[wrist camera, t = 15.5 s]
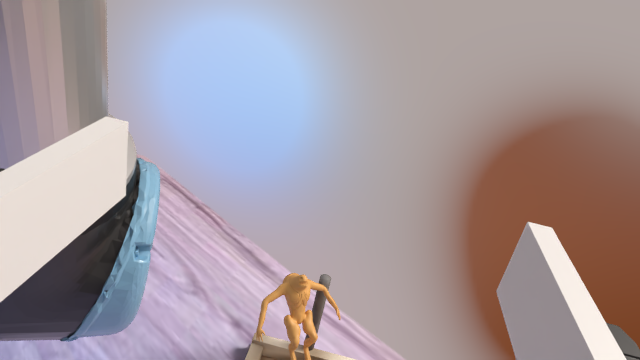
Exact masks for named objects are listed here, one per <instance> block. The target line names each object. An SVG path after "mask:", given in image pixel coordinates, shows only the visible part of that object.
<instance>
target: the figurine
mask: <svg viewBox="0 0 640 360" xmlns="http://www.w3.org/2000/svg"><path fill="white" fill-rule="evenodd" d="M310 289H313V290H318V291H323V293H324V295H325V296H326V298H327V300H328V301H329V303H330V304H331V305H332V306H333V307H334V308H335V310H336V313H337V316H338V317H339V320H340V313H339V309H338V307H337V305H336V303H335V301H334V300H333V298H332V297H331V296H330V294H329V292H328V290H327V288H326V287H325V286H324V285H322V284H319V283H315V282H313V281H311V280H309V279H307V277H306V276H305V275H299V274H296V273H291V274H289V275H287V276H286V277H285V278H284V280H283V284H282V285H280V286H279V287H278V288H277V289H276V290H275V291H274V292H272V293H271V294H269V295H268V296H267V297H266V298H265V299H264V300H263V301H262V304H261V312H260V317H259V323H258V327H257V332H256V340H257V338H258V340H259V342H260V337H261V340H262V342H263V339H262V333H263V334H264V335H265V333H264V331H263V330H262V326H263V323H264V320H265V314H266V310H267V306H268V303H270V302H272V301H274V300H275V299H277V298H278V297H280V296H282V295H285V297H286V300H287V304H288V306H289V310H290V314H291V315H287V316H285V318H284V324H285V326H286V329H287V334H288V338H289V340H290V341H291V343H290V344H289V346H288V349H289V353H290V359H291V360H296V356H295V352H294V351H295V350H296V349H297V347H298V345H299V336H300V327H299V325H298V324H301V323H302V325H303V331H304V332H305V333H306V334H308V336H309V338H307V339H306V340H305V341H304V346H303V349H304V355H305V360H311V357H310V353H309V349H308V347H309V346H311V345H312V344H314V343H315V342H316V340H317V338H318V336H317V334H316V330H315V327H314V324H313V317H312V311H311V310H307V311H306V312H305V306H306V305H307V301H308V300H309V297H310Z"/></svg>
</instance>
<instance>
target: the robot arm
mask: <svg viewBox="0 0 640 360" xmlns="http://www.w3.org/2000/svg"><path fill="white" fill-rule="evenodd" d="M107 75H108V70H107V9H106V0H0V341H21V340H61V341H68V342H69V341H73V340H76V339H78V338H79V337H91V336H103V335H111V334H116V333H118V332H120V331H122V330H124V329H125V328H126V327H128V326H129V325H130V324H131V322H132V321H133V320H134V318H135V316H136V314H137V312H138V309H139V307H140V304H141V300H142V297H143V293H144V289H145V285H146V280H147V275H148V270H149V264H150V255H151V254H150V250H151V248H152V244H153V239H154V235H155V230H156V223H157V215H158V206H159V196H160V173H159V169H158V168H157V166H156V165H154V164H153V163H150V162H146V161H144V160H143V159H141V158H137V157H136V148H135V144H134V141H133V138H132V136H131V135H130V133H129V132H128V122H126V121H122V120H118V119H116V118H115V117H113V116H112V115H110V114H108V76H107ZM497 295H498V299H499V302H500V305H501V309H502V312H503V316H504V319H505V323H506V326H507V330H508V333H509V336H510V340H511V344H512V347H513V350H514V354H515V357H516V360H640V350H639V348H638V346H637V345H636V343H635V342H634V341H633V340H632V339H631V338H630V337H629V336H628V335H627V334H626V333H625V332H624V331H623V330H622V329H621V328H619V326H616V325H612V324H608V323H605V321H604V319H603V317H602V315H601V314H600V312H599V310H598V308H597V307H596V305H595V303H594V302H593V300H592V298H591V296H590V294H589V293H588V291H587V289H586V287H585V285H584V284H583V282H582V280H581V278H580V277H579V275H578V273H577V271H576V270H575V268H574V266H573V264H572V263H571V261H570V259H569V258H568V255H567V254H566V252H565V250H564V248H563V247H562V245H561V243H560V241H559V240H558V238H557V236H556V234H555V233H554V231H553V229H552V228H550V227H546V226H542V225H538V224H534V223H530V222H527V224H526V227H525V229H524V231H523V233H522V235H521V238H520V240H519V242H518V245H517V247H516V249H515V251H514V253H513V256H512V258H511V260H510V262H509V264H508V267H507V269H506V271H505V273H504V275H503V278H502V280H501V282H500V284H499V287H498V289H497Z"/></svg>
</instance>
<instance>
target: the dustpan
mask: <svg viewBox="0 0 640 360" xmlns="http://www.w3.org/2000/svg"><path fill="white" fill-rule="evenodd" d="M330 281H331V277H330V276H329V275H326V274H323V275H321V276H320V280H319V284H322V285H324V286H325V287H326V288H327V290H328V289H329V285H330ZM325 301H326V296H325V295H324V293H323V291H318V290H317V292H316V297H315V301H314V305H313V309H312V317H313V324H314V327H315V330H316V334H317V333H318V329H319V325H320V321H321V317H322V313H323V309H324V305H325ZM307 338H309V336H308V334H306V338H305V340H306V339H307ZM262 339H263V342H262V340H261V337H260V342H259V340H258V338H257V340H256V333H255V334H254V337H253V339H252V343H251V346H250V348H249V351H248V353H247V356H246V358H245V360H291V359H290V353H289V349H288V346H289V344H290V343H291V342H288V341H284V340H281V339H277V338H273V337H270V336H266V335H262ZM314 345H315V343H314V344H312V345H311V346H309V347H308V349H309V353H310V357H311V360H355V359H352V358H348V357H344V356H340V355H337V354H333V353H329V352H326V351H322V350H318V349H314ZM294 352H295V356H296V360H305V355H304V349H303V345H298V347H297V349H296V350H295V351H294Z"/></svg>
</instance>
